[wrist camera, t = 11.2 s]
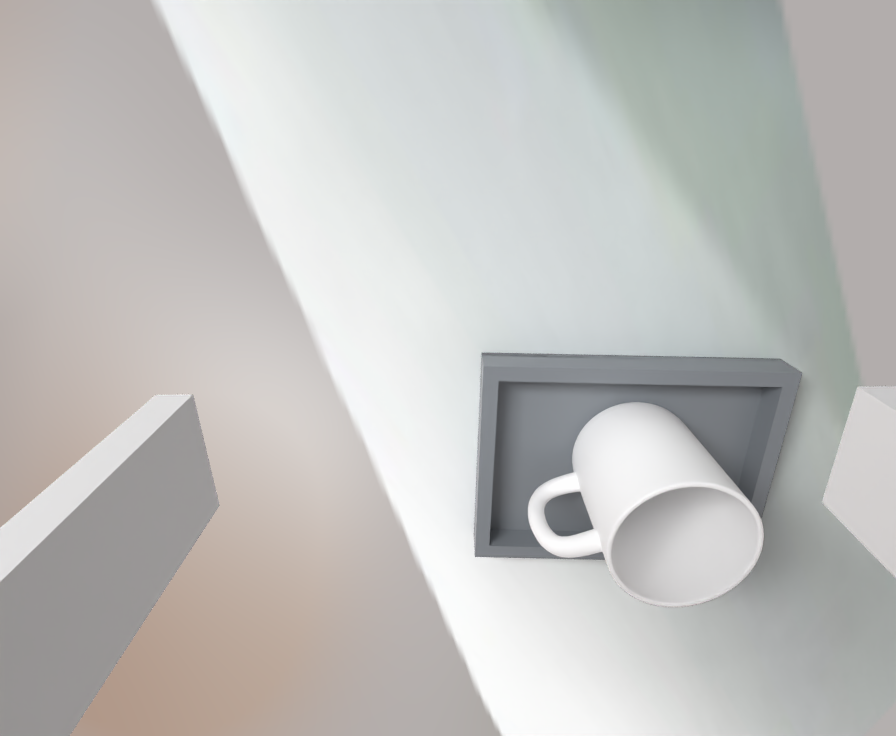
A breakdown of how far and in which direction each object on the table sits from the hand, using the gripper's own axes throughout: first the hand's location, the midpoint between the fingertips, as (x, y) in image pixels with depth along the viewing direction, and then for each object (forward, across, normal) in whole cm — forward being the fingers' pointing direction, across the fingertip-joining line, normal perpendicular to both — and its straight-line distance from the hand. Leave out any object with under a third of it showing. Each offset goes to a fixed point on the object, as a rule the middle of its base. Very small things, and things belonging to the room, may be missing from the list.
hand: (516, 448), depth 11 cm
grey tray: (+24, +10, -16) cm, 30 cm away
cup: (+24, +9, -15) cm, 29 cm away
